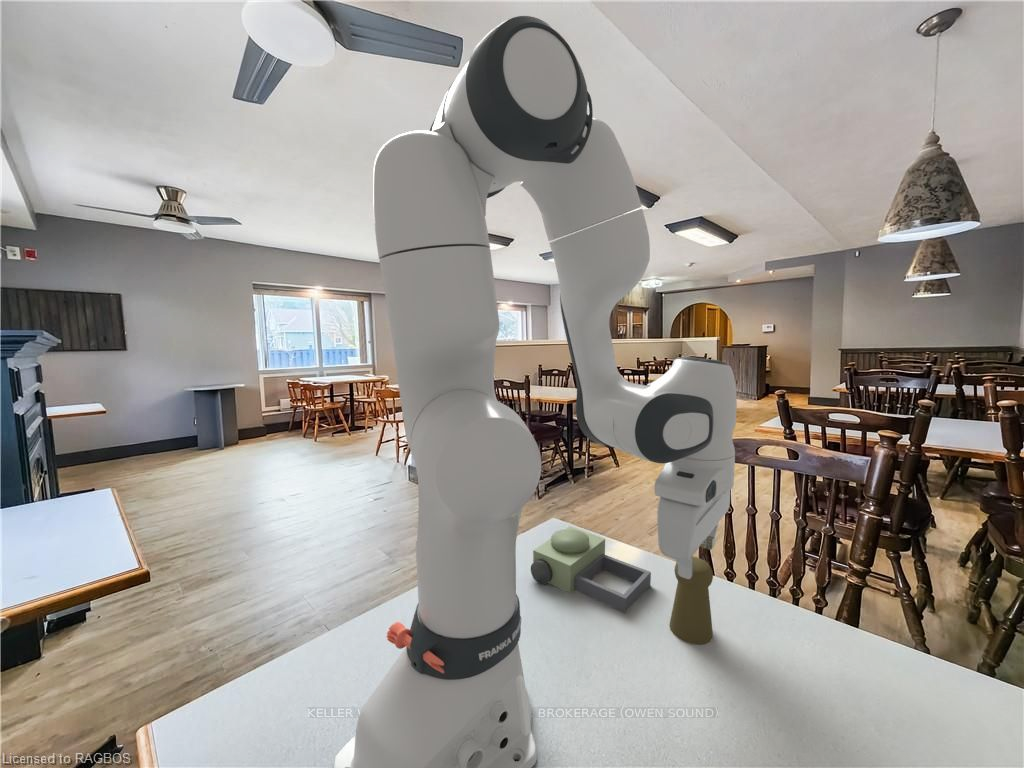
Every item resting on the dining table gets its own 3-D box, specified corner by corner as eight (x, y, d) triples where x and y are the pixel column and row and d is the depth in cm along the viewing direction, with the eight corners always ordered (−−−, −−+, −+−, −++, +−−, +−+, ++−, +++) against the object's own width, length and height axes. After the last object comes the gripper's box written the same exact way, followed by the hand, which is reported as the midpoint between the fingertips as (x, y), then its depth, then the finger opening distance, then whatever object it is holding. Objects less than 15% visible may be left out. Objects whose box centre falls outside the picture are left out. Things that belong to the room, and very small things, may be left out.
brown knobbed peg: (707, 651, 60) (711, 578, 59) (663, 633, 64) (666, 564, 63) (717, 626, 65) (720, 558, 64) (676, 611, 69) (678, 546, 67)
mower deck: (618, 621, 67) (619, 584, 66) (529, 578, 78) (529, 546, 77) (655, 579, 77) (657, 546, 77) (572, 547, 89) (573, 518, 88)
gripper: (700, 448, 71) (698, 527, 73) (648, 487, 56) (648, 585, 58) (742, 455, 67) (739, 538, 69) (699, 499, 52) (696, 604, 54)
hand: (697, 560), depth 63 cm, fingers open, 8 cm apart
